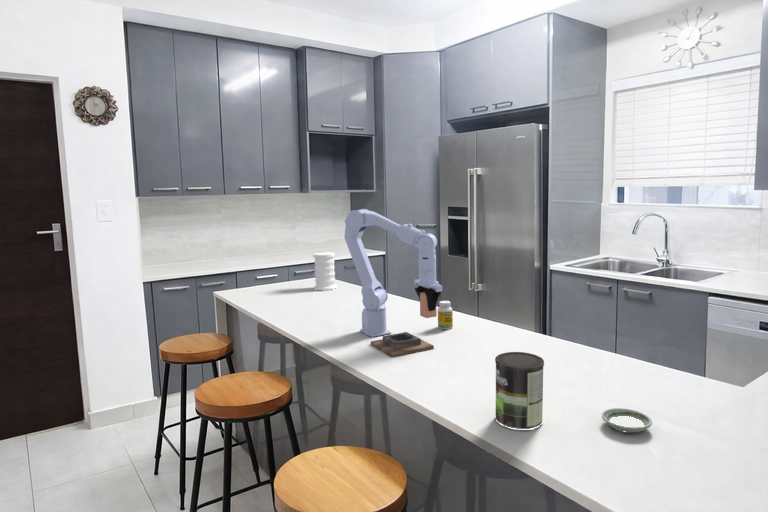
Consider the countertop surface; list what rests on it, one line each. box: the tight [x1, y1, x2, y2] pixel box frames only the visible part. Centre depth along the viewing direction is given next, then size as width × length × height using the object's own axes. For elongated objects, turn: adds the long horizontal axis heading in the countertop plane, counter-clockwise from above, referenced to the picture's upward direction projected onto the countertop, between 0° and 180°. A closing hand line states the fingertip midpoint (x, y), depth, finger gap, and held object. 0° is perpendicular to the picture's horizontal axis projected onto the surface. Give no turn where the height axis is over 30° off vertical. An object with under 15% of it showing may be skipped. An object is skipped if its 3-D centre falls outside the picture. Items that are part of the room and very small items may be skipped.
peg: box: [419, 292, 438, 319], centre depth 176 cm, size 4×4×8 cm
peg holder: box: [370, 331, 435, 358], centre depth 168 cm, size 15×15×3 cm
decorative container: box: [312, 251, 338, 291], centre depth 263 cm, size 12×12×18 cm
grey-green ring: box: [601, 407, 653, 433], centre depth 110 cm, size 10×10×2 cm
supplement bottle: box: [437, 300, 454, 330], centre depth 187 cm, size 5×5×10 cm
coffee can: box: [494, 351, 545, 429], centre depth 113 cm, size 10×10×14 cm
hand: (428, 309), depth 176 cm, fingers closed on peg, 4 cm apart
